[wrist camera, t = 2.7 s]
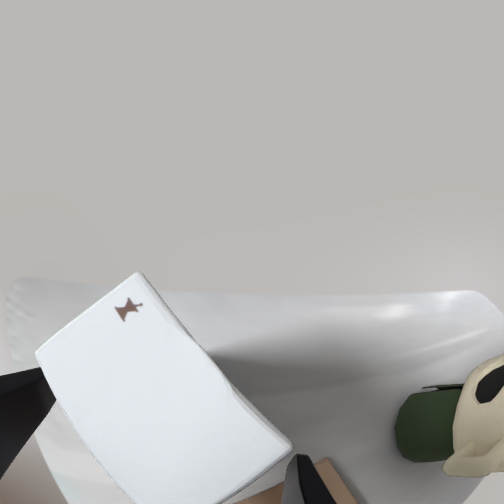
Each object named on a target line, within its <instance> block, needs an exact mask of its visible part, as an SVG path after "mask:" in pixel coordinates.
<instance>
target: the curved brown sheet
mask: <svg viewBox="0 0 504 504" xmlns="http://www.w3.org/2000/svg"><path fill="white" fill-rule="evenodd" d="M314 466H315V468H316V470H317V471H318V473H319V475H320V477H321V478H322V480H323V482H324V483H325V485H326V487H327V488H328V490H329V492H330V493H331V495H332V497H333V498H334V500H335V501H336V503H337V504H358V503H357V501H356V500H355V498H354V497H353V496H352V494H351V493H350V491H349V490H348V488H347V487H346V485H345V484H344V482H343V481H342V479H341V478H340V476H339V475H338V473H337V472H336V470H335V469H334V467H333V466H332V464H331V463H330V461H329V460H328V459H327V458H324V459H322V460H321V461H319V462H318V463H316V464H314ZM284 482H285V481H284ZM284 482H282V483H280V484H278V485H276V486H274V487H272V488H270V489H267V490H265V491H263V492H261V493H259V494H256V495H254V496H252V497H249V498H247V499H244V500H242V501H239V502H237V503H234V504H281V498H282V493H283V488H284Z"/></svg>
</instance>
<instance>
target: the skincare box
mask: <svg viewBox="0 0 504 504" xmlns="http://www.w3.org/2000/svg"><path fill="white" fill-rule="evenodd" d="M35 355H36V358H37V360H38V362H39V364H40V367H41V369H42V371H43V373H44V376H45V378H46V380H47V382H48V384H49V386H50V388H51V390H52V392H53V394H54V396H55V397H56V399H57V401H58V403H59V405H60V407H61V408H62V410H63V412H64V413H65V415H66V417H67V418H68V420H69V422H70V423H71V425H72V426H73V428H74V429H75V431H76V433H77V434H78V436H79V437H80V438H81V440H82V441H83V443H84V444H85V446H86V447H87V448H88V450H89V451H90V452H91V454H92V455H93V456H94V458H95V459H96V460H97V462H98V463H99V464H100V465H101V467H102V468H103V469H104V470H105V472H106V473H107V474H108V475H109V476H110V478H111V479H112V480H113V481H114V482H115V483H116V485H117V486H118V487H119V488H120V489H121V490H122V491H123V492H124V493H125V494H126V495H127V496H128V497H129V499H130V500H131V501H132V502H133V503H134V504H222V503H223V502H225V501H226V500H228V499H229V498H231V497H232V496H234V495H235V494H237V493H238V492H240V491H241V490H243V489H244V488H246V487H247V486H249V485H250V484H252V483H253V482H254V481H256V480H257V479H258V478H260V477H261V476H262V475H263V474H265V473H266V472H267V471H268V470H270V469H271V468H272V467H273V466H275V465H276V464H277V463H278V462H279V461H281V460H282V459H283V458H284V457H285V456H287V455H288V454H289V453H290V452H291V451H292V450H293V444H292V443H291V441H290V440H289V439H288V438H287V437H286V436H285V435H284V434H283V433H282V432H281V431H279V430H278V429H277V428H276V427H275V426H274V425H273V424H272V423H271V422H270V421H269V420H268V419H267V418H266V417H265V416H264V415H263V414H262V413H261V412H260V411H258V410H257V409H256V408H255V407H254V406H253V405H252V404H251V403H250V402H249V400H248V399H247V398H246V397H245V396H244V395H243V394H242V393H241V392H240V391H239V390H238V389H237V388H236V387H235V386H234V385H233V384H232V383H231V382H230V380H229V379H228V378H227V377H226V376H225V375H224V374H223V372H222V371H221V370H220V368H219V367H218V366H217V365H216V363H215V362H214V361H213V360H212V358H211V357H210V356H209V355H208V354H207V352H206V351H205V350H204V349H203V348H202V347H201V346H200V345H199V344H198V343H197V342H196V341H195V339H194V338H193V337H192V336H191V334H190V333H189V332H188V331H187V329H186V328H185V327H184V326H183V325H182V323H181V322H180V321H179V320H178V318H177V317H176V316H175V315H174V313H173V312H172V311H171V310H170V308H169V307H168V306H167V305H166V303H165V302H164V301H163V299H162V298H161V297H160V295H159V294H158V293H157V291H156V290H155V289H154V287H153V286H152V285H151V284H150V282H149V281H148V280H147V278H146V277H145V276H144V274H143V273H141V272H139V271H137V272H135V273H134V274H132V275H131V276H130V277H129V278H127V279H126V280H125V281H123V282H122V283H121V284H120V285H118V286H117V287H115V288H114V289H113V290H112V291H110V292H109V293H108V294H106V295H105V296H104V297H102V298H101V299H100V300H98V301H97V302H96V303H94V304H93V305H92V306H91V307H89V308H88V309H87V310H85V311H84V312H83V313H81V314H80V315H79V316H77V317H76V318H75V319H73V320H72V321H71V322H70V323H68V324H67V325H66V326H64V327H63V328H62V329H61V330H59V331H58V332H57V333H56V334H54V335H53V336H52V337H51V338H50V339H49V340H47V341H46V342H45V343H44V344H43V345H42V346H41V347H39V348H38V349H37V350H36V352H35Z"/></svg>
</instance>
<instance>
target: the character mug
mask: <svg viewBox="0 0 504 504" xmlns="http://www.w3.org/2000/svg"><path fill="white" fill-rule="evenodd" d="M433 387H436V388H437V389H439V390H435V391H431V392H424V393H415V394H412V395H410V396H409V397H408V399H407V400H406V401H405V403H404V404H403V406H402V407H401V409H400V411H399V414H398V417H397V421H396V424H395V427H394V428H395V434H396V441H397V446H398V447H399V449H400V451H401V453H402V455H403V457H404V458H406V459H409V460H411V461H413V462H434V461H442V460H447V461H446V462H445V463H444V465H443V468H442V471H444V472H445V473H446V474H447V475H449V476H456V477H475V478H479V477H484V476H487V475H489V474H490V473H491V472H504V354H502V355H500V356H497V357H495V358H493V359H490V360H488V361H486V362H484V363H482V364H481V365H480V366H478V367H476V368H475V369H474V370H473V371H472V372H471V373H470V374H469V376H468V378H467V380H466V382H465V384H451V385H436V386H428V387H423V388H421V389H424V388H433Z"/></svg>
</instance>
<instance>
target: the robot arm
mask: <svg viewBox="0 0 504 504" xmlns="http://www.w3.org/2000/svg"><path fill="white" fill-rule="evenodd" d="M56 400H57V399H56V397H55V396H54V394H53V392H52V390H51V388H50V386H49V384H48V382H47V380H46V378H45V376H44V373H43V371H42V369H41V367H39V368H34V369H30V370H25V371H21V372H16V373H12V374H7V375H2V376H0V479H1V478H2V476H3V475H4V473H5V472H6V470H7V469H8V467H9V466H10V464H11V463H12V462H13V460H14V459H15V457H16V456H17V454H18V453H19V452H20V450H21V449H22V447H23V446H24V445H25V443H26V442H27V441H28V439H29V438H30V437H31V435H32V434H33V433H34V431H35V430H36V429H37V427H38V426H39V425H40V424H41V422H42V421H43V420H44V418H45V417H46V416H47V414H48V413H49V411H50V410H51V408H52V406H53V405H54V403H55V401H56ZM281 504H337V503H336V501H335V500H334V498H333V497H332V495H331V493H330V492H329V490H328V488H327V487H326V485H325V483H324V482H323V480H322V478H321V477H320V475H319V473H318V471H317V470H316V468H315V466H314V465H313V463H312V461H311V459H310V458H309V456H308V455H305V454H296V455H295V456H294V457H293V459H292V460H291V461H290V463H289V464H288V467H287V470H286V476H285V482H284V488H283V493H282V498H281Z"/></svg>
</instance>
